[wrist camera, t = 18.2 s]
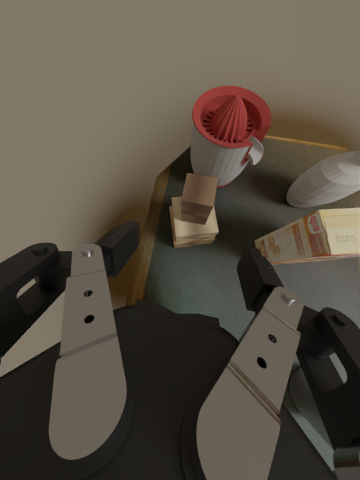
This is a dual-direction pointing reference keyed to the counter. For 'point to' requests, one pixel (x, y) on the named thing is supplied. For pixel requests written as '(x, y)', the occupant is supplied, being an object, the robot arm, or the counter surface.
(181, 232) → the block top
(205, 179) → the walnut post
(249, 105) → the citrus juicer
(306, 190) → the soap bottle
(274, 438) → the robot arm
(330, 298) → the counter surface
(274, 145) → the counter surface
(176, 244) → the block bottom
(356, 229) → the coffeecake box
